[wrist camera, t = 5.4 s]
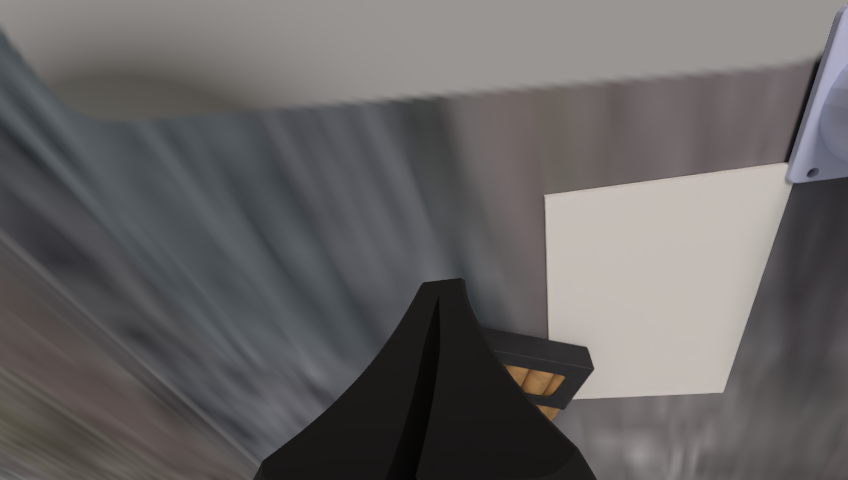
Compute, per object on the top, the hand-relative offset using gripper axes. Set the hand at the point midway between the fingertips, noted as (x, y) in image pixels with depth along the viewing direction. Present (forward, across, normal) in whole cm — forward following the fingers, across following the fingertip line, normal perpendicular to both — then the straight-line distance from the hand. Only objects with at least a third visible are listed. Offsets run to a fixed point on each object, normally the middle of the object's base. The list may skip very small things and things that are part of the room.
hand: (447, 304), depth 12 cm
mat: (+10, -11, +11) cm, 19 cm away
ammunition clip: (+9, -2, +12) cm, 15 cm away
